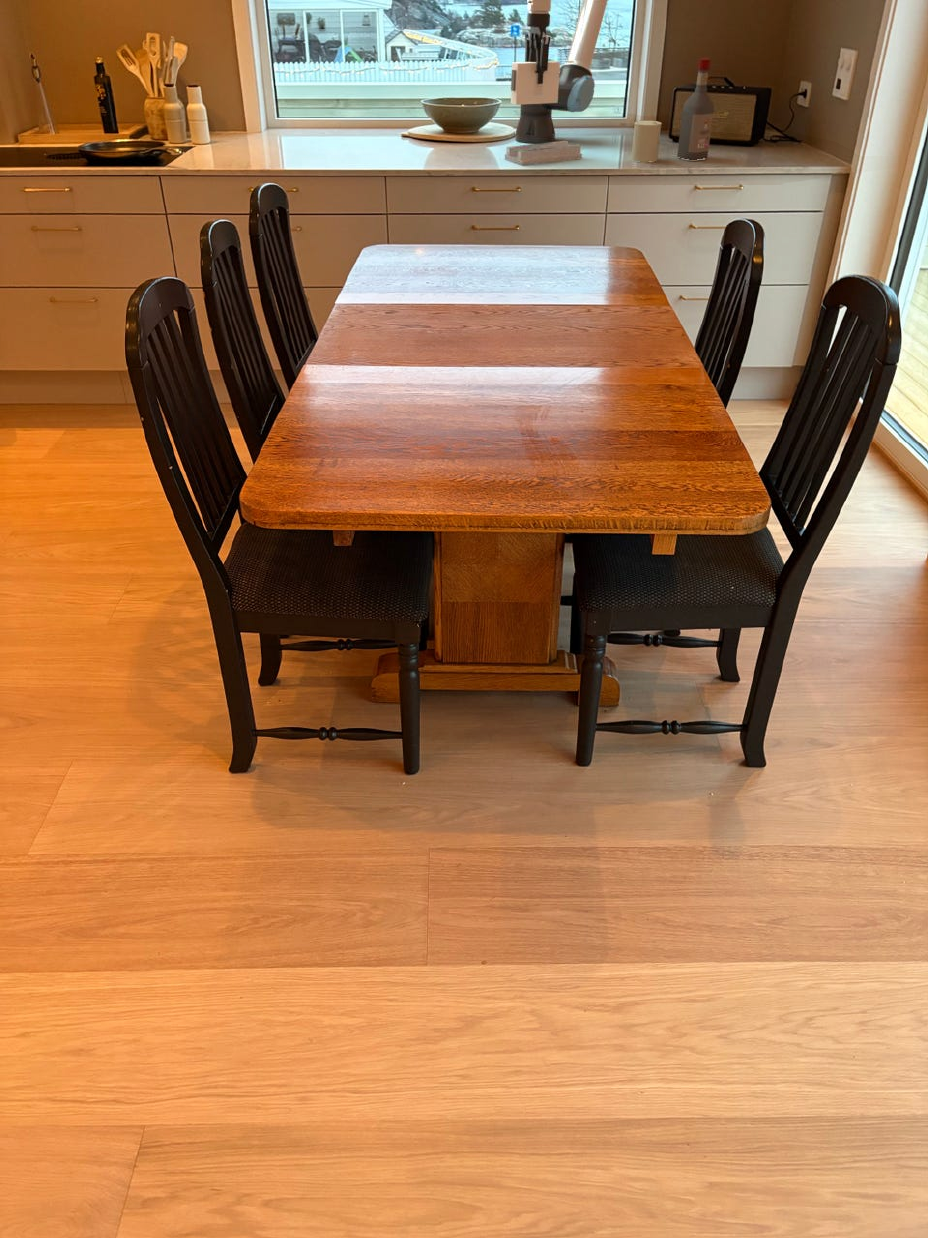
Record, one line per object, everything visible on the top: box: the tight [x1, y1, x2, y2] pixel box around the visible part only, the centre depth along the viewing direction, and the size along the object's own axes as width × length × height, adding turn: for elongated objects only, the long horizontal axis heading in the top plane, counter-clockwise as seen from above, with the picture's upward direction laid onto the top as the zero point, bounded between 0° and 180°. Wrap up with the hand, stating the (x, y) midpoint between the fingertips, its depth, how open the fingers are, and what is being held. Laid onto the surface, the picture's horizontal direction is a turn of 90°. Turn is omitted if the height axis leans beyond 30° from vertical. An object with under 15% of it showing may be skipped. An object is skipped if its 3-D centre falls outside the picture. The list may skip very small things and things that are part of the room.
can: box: [630, 120, 662, 163], centre depth 322 cm, size 9×9×12 cm
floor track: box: [504, 140, 583, 166], centre depth 326 cm, size 24×12×4 cm, turn 118°
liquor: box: [677, 57, 715, 160], centre depth 319 cm, size 9×9×30 cm
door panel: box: [510, 60, 561, 106], centre depth 318 cm, size 17×4×12 cm, turn 115°
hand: (534, 93), depth 320 cm, fingers closed on door panel, 4 cm apart
